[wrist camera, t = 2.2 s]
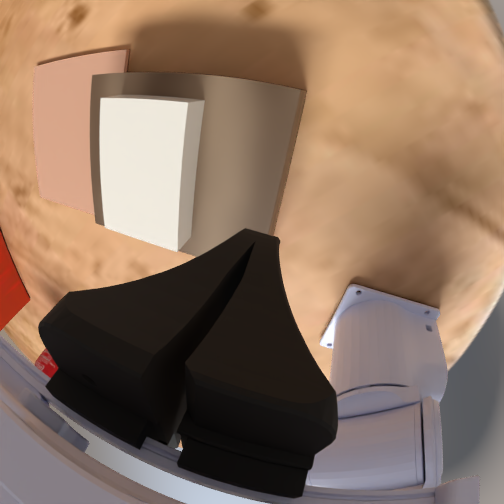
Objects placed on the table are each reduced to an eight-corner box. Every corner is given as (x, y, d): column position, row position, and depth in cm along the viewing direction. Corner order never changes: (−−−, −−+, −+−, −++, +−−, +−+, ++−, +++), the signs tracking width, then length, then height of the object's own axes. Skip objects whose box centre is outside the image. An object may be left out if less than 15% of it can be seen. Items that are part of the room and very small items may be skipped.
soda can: (95, 355, 45) (63, 401, 35) (68, 334, 45) (34, 377, 35) (94, 339, 41) (56, 389, 31) (65, 316, 41) (25, 362, 31)
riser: (307, 90, 16) (300, 89, 12) (270, 245, 22) (258, 275, 19) (126, 72, 17) (92, 74, 14) (123, 203, 24) (95, 223, 21)
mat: (129, 49, 16) (126, 49, 16) (124, 222, 25) (122, 224, 25) (37, 66, 18) (34, 66, 18) (42, 195, 27) (40, 197, 27)
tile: (204, 100, 14) (188, 102, 12) (191, 236, 19) (177, 252, 17) (121, 94, 15) (100, 98, 13) (121, 215, 20) (104, 227, 18)
